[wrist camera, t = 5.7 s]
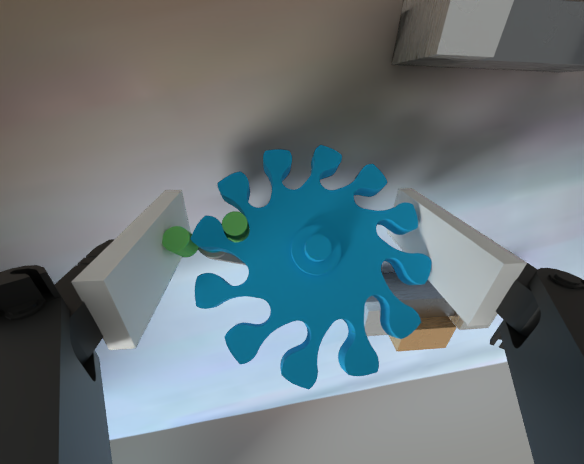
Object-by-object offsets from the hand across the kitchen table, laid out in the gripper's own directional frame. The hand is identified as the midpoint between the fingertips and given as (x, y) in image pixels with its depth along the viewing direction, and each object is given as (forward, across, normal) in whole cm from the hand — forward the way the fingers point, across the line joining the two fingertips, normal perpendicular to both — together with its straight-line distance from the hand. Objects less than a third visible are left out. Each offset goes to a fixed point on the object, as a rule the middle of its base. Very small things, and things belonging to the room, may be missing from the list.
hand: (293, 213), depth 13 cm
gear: (+1, 0, 0) cm, 1 cm away
